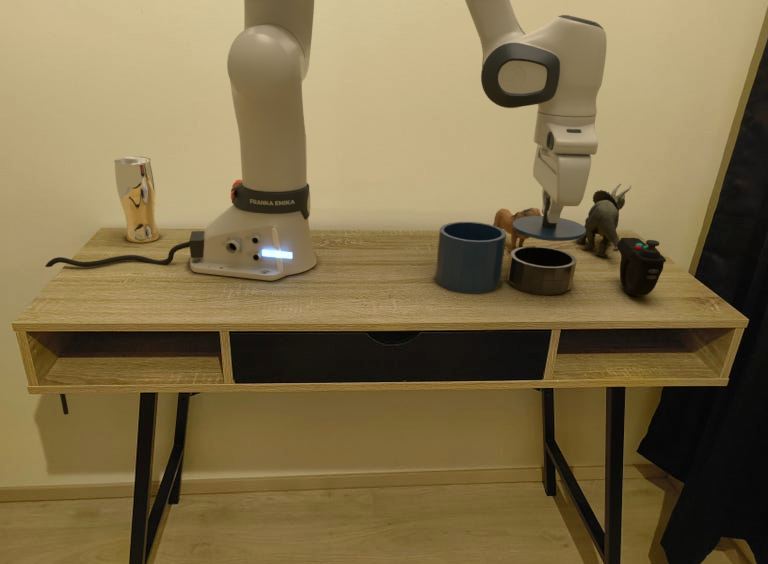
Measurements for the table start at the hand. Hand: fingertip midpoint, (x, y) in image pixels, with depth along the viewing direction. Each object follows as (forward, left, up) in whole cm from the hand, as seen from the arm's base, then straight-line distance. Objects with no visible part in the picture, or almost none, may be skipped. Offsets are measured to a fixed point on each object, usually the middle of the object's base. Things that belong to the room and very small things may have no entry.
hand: (549, 218), depth 113 cm
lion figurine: (-2, +20, -12) cm, 23 cm away
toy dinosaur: (+15, +20, -12) cm, 28 cm away
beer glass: (-75, +17, -12) cm, 77 cm away
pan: (0, 0, -12) cm, 12 cm away
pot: (-13, 0, -12) cm, 17 cm away
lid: (0, 0, -2) cm, 2 cm away
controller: (+15, -2, -12) cm, 20 cm away
